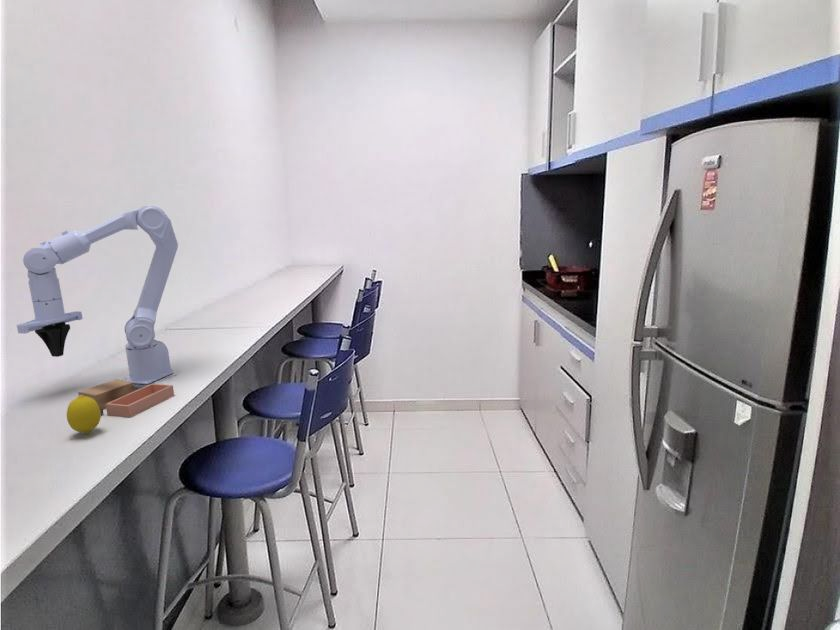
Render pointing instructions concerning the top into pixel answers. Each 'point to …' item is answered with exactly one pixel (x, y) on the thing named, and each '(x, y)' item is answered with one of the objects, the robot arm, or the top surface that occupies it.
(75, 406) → the lemon
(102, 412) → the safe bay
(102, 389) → the block
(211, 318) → the top surface
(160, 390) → the tray
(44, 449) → the top surface
